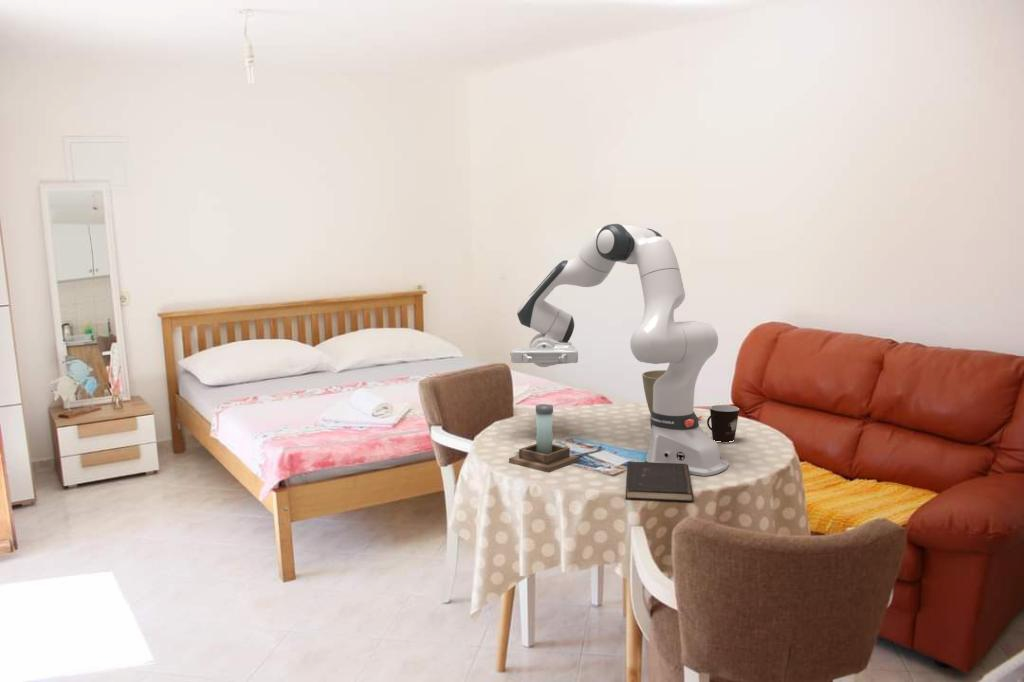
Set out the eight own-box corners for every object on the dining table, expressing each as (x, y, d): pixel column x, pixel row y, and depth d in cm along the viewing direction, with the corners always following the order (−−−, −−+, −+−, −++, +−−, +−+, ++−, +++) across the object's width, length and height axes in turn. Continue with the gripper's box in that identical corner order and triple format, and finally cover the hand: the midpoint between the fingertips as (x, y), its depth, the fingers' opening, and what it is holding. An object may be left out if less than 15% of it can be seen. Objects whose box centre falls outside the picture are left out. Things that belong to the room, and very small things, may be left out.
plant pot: (635, 417, 286) (636, 371, 284) (677, 415, 289) (678, 369, 286) (650, 428, 272) (651, 379, 269) (693, 426, 274) (695, 377, 272)
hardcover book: (625, 499, 205) (625, 490, 204) (627, 469, 227) (627, 461, 227) (692, 502, 202) (693, 493, 202) (688, 472, 225) (688, 463, 224)
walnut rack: (579, 460, 237) (579, 447, 236) (548, 472, 226) (548, 458, 226) (540, 451, 246) (540, 439, 245) (509, 462, 235) (508, 449, 235)
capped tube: (555, 455, 237) (555, 404, 235) (550, 460, 233) (550, 408, 230) (538, 454, 239) (538, 403, 236) (533, 459, 234) (533, 407, 232)
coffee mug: (729, 435, 262) (730, 404, 261) (743, 443, 254) (744, 410, 252) (694, 438, 259) (695, 406, 258) (707, 445, 251) (708, 412, 250)
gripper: (510, 342, 262) (509, 349, 248) (576, 342, 262) (579, 349, 248) (510, 362, 263) (509, 370, 249) (576, 362, 263) (579, 370, 249)
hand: (545, 359), depth 249 cm, fingers open, 8 cm apart
